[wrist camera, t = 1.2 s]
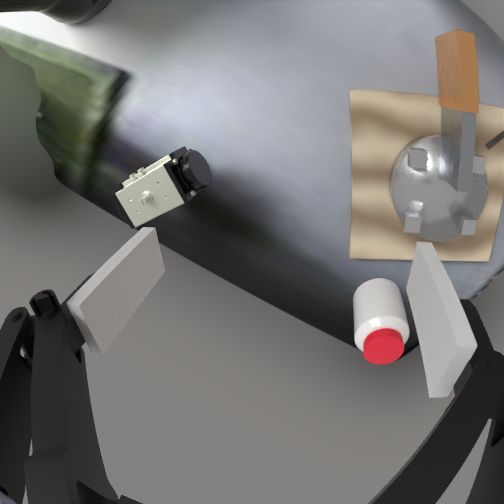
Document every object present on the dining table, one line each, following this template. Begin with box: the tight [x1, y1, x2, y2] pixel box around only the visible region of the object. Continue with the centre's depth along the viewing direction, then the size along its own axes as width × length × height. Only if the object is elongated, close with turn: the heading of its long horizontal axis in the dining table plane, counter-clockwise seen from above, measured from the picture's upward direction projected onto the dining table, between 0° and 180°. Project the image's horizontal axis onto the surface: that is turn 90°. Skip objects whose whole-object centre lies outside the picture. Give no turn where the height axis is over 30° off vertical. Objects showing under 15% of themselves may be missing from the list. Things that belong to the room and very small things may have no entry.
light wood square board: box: [349, 90, 504, 261], centre depth 34 cm, size 22×22×2 cm
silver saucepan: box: [389, 30, 488, 241], centre depth 26 cm, size 24×13×8 cm, turn 6°
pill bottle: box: [353, 278, 410, 364], centre depth 40 cm, size 8×8×11 cm
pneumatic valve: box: [113, 146, 212, 229], centre depth 36 cm, size 6×12×12 cm, turn 117°
